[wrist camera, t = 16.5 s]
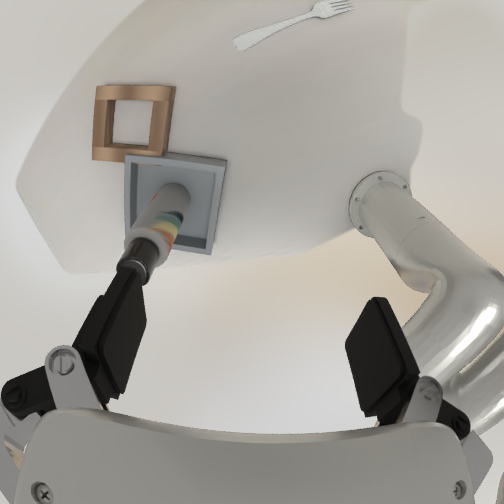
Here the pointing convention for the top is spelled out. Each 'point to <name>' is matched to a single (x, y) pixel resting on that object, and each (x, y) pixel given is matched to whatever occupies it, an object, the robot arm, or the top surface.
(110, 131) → the socket stand
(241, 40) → the fork
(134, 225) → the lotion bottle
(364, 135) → the top surface
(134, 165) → the tray
